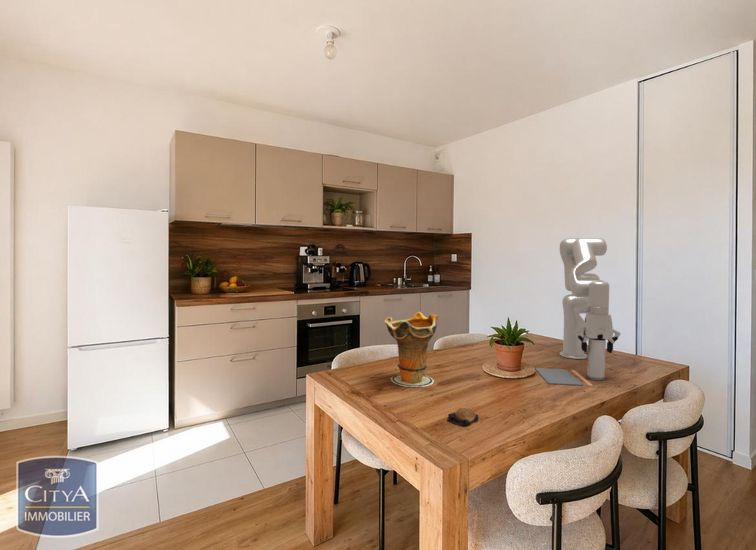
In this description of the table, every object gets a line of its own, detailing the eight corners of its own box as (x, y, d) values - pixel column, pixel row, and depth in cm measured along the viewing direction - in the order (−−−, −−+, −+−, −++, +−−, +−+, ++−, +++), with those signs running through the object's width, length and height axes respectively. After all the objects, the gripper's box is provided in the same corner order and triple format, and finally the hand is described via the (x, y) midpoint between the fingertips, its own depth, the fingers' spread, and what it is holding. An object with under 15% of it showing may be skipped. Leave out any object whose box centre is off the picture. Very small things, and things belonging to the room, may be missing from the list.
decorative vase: (373, 380, 156) (375, 312, 155) (408, 371, 173) (410, 309, 172) (413, 393, 142) (416, 318, 141) (447, 381, 159) (450, 314, 158)
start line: (571, 370, 171) (571, 370, 171) (574, 370, 171) (574, 370, 171) (589, 386, 151) (589, 385, 151) (593, 386, 151) (593, 385, 151)
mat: (535, 369, 173) (535, 368, 173) (565, 370, 171) (565, 369, 171) (548, 384, 153) (548, 382, 153) (583, 385, 151) (583, 384, 151)
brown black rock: (459, 412, 128) (459, 401, 128) (483, 418, 122) (483, 407, 122) (442, 422, 120) (442, 411, 119) (467, 430, 114) (467, 418, 114)
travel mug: (606, 377, 161) (607, 330, 160) (602, 381, 156) (603, 333, 155) (589, 374, 165) (591, 328, 164) (585, 378, 161) (586, 331, 160)
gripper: (579, 311, 157) (578, 353, 158) (625, 312, 154) (623, 354, 155) (572, 309, 164) (571, 348, 165) (616, 310, 162) (615, 350, 163)
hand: (596, 351), depth 160 cm, fingers open, 9 cm apart
